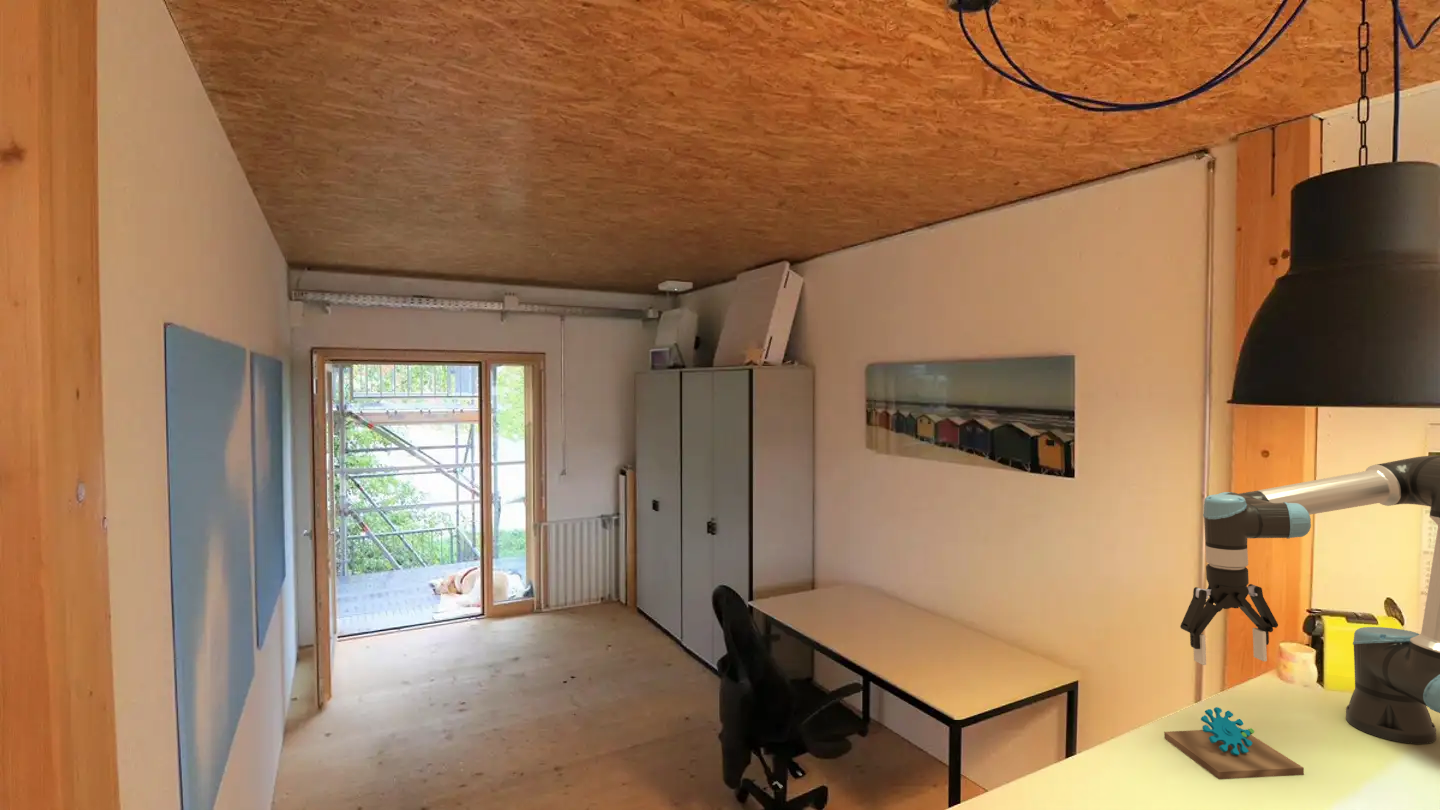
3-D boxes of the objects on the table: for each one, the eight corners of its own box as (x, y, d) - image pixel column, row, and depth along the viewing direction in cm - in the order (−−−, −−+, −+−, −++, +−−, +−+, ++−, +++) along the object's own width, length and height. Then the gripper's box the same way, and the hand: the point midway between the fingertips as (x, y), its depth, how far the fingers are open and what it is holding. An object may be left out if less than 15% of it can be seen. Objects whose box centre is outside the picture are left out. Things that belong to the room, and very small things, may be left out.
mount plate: (1240, 734, 160) (1240, 728, 160) (1303, 774, 143) (1303, 767, 143) (1164, 738, 160) (1164, 731, 160) (1218, 779, 143) (1218, 772, 143)
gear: (1215, 750, 148) (1197, 703, 155) (1199, 759, 152) (1183, 713, 159) (1267, 756, 147) (1247, 709, 154) (1250, 765, 152) (1231, 718, 159)
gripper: (1267, 558, 155) (1271, 651, 156) (1159, 564, 155) (1163, 657, 155) (1296, 566, 148) (1300, 664, 148) (1183, 573, 147) (1186, 671, 148)
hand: (1230, 661), depth 152 cm, fingers open, 13 cm apart
